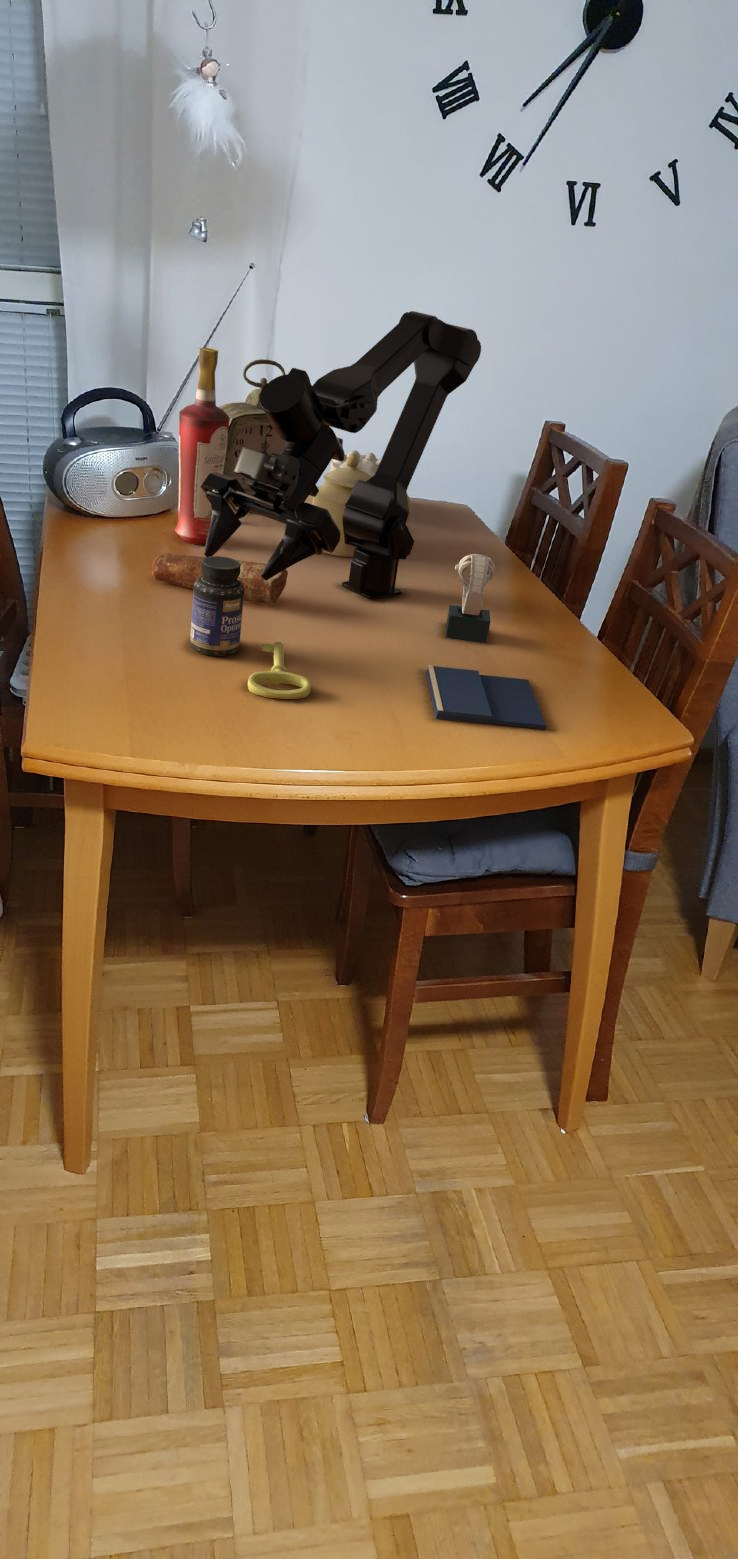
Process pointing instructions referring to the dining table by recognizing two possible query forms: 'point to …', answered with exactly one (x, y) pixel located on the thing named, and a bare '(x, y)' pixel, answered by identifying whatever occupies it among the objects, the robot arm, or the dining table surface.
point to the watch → (471, 600)
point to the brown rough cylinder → (255, 587)
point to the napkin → (483, 698)
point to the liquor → (200, 451)
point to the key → (278, 677)
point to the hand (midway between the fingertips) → (234, 567)
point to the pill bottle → (217, 607)
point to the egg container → (365, 463)
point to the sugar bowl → (341, 498)
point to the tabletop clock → (250, 428)
